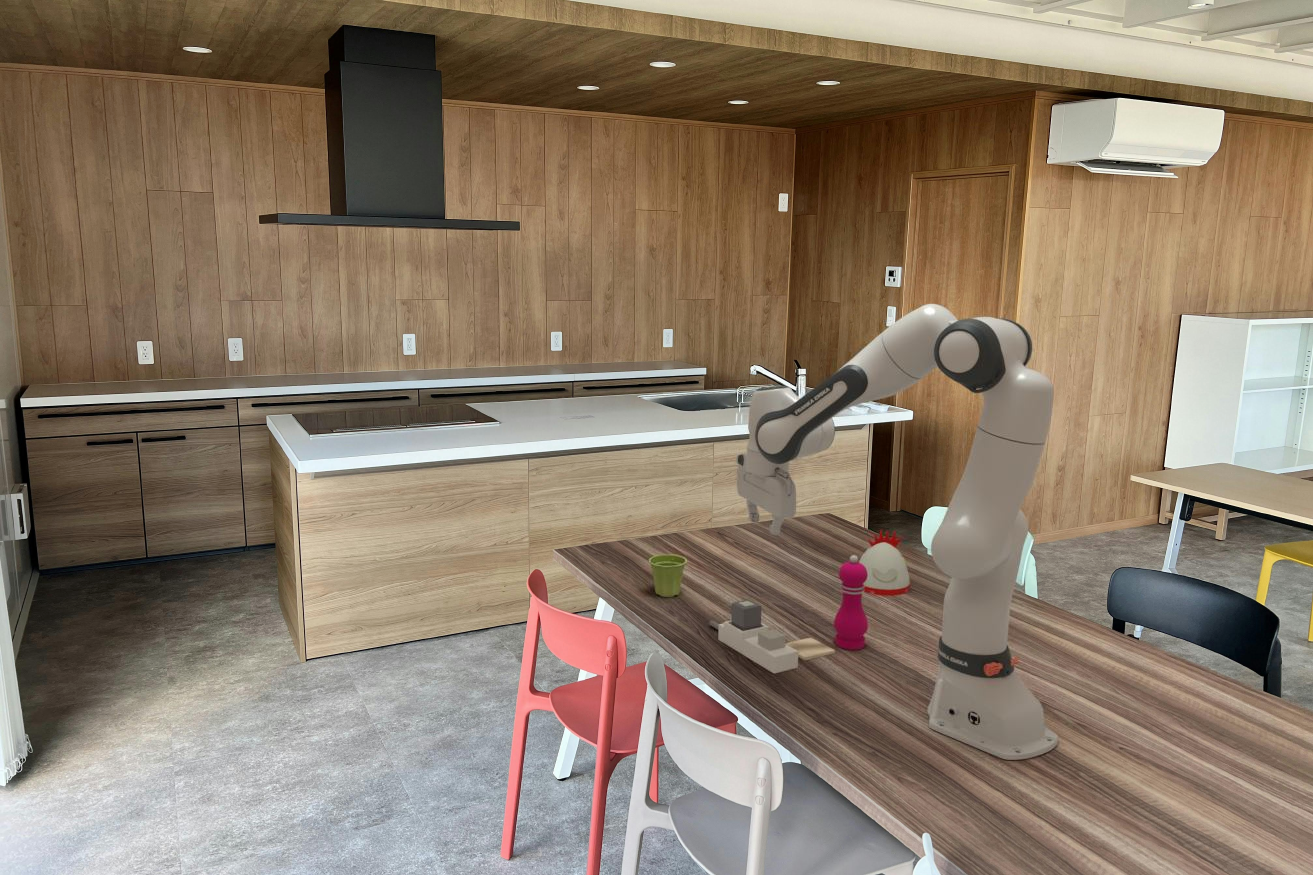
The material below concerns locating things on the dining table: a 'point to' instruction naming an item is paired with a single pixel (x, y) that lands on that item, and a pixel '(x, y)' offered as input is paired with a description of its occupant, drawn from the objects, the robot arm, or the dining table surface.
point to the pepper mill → (851, 606)
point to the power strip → (759, 646)
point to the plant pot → (667, 574)
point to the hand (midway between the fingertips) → (763, 527)
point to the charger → (746, 615)
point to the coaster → (810, 648)
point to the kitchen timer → (885, 567)
